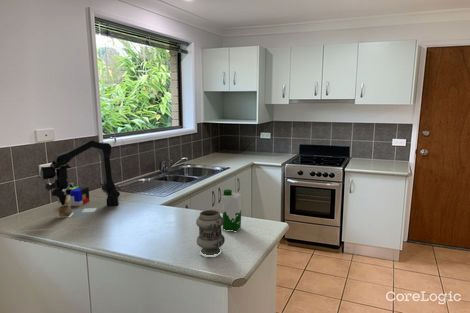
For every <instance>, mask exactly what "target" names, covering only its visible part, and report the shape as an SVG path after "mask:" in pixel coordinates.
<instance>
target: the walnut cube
mask: <svg viewBox="0 0 470 313" xmlns="http://www.w3.org/2000/svg"><path fill="white" fill-rule="evenodd" d="M71 210H72V205H68V206H58V215H59V217H65V218H67V217H66V216H70V215H71V214H72V211H71Z"/></svg>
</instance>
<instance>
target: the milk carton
mask: <svg viewBox="0 0 470 313" xmlns="http://www.w3.org/2000/svg"><path fill="white" fill-rule="evenodd" d="M221 201H222V218H223V219H224V224H223V225H222V230H223V229H225V230H233V231H237V230H238V229H239V228H240V229H241V226H242V193H237V192H233V190H232V189H224V190H223V194H222V195H221ZM240 229H239V230H240ZM239 230H238V231H239ZM238 231H237V232H238Z"/></svg>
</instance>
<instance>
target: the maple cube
mask: <svg viewBox="0 0 470 313" xmlns="http://www.w3.org/2000/svg"><path fill="white" fill-rule="evenodd" d="M69 204H71V199H70V195H67V197H66V201H65V204H64V205H62V204H61V202H60V200H59V198H58V197H57V205H58V206H57V207H61V206H68V205H69Z"/></svg>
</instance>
